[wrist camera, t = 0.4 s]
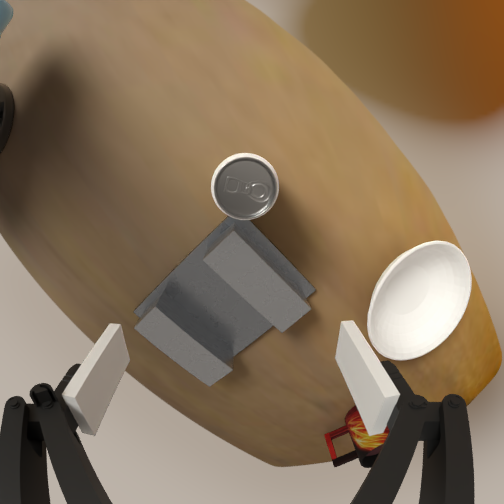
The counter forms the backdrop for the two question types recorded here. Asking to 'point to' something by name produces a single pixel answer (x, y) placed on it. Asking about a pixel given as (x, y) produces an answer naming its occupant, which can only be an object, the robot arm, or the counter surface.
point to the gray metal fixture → (223, 300)
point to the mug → (357, 441)
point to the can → (245, 186)
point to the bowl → (419, 300)
